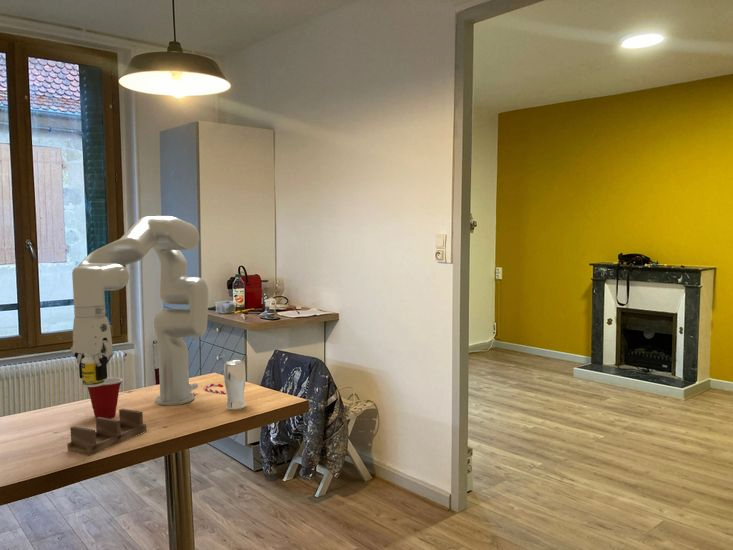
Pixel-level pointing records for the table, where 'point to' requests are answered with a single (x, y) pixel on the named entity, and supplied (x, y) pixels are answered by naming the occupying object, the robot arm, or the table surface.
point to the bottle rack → (106, 432)
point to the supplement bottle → (90, 371)
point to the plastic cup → (105, 398)
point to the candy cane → (214, 390)
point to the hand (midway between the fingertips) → (93, 377)
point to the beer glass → (235, 383)
